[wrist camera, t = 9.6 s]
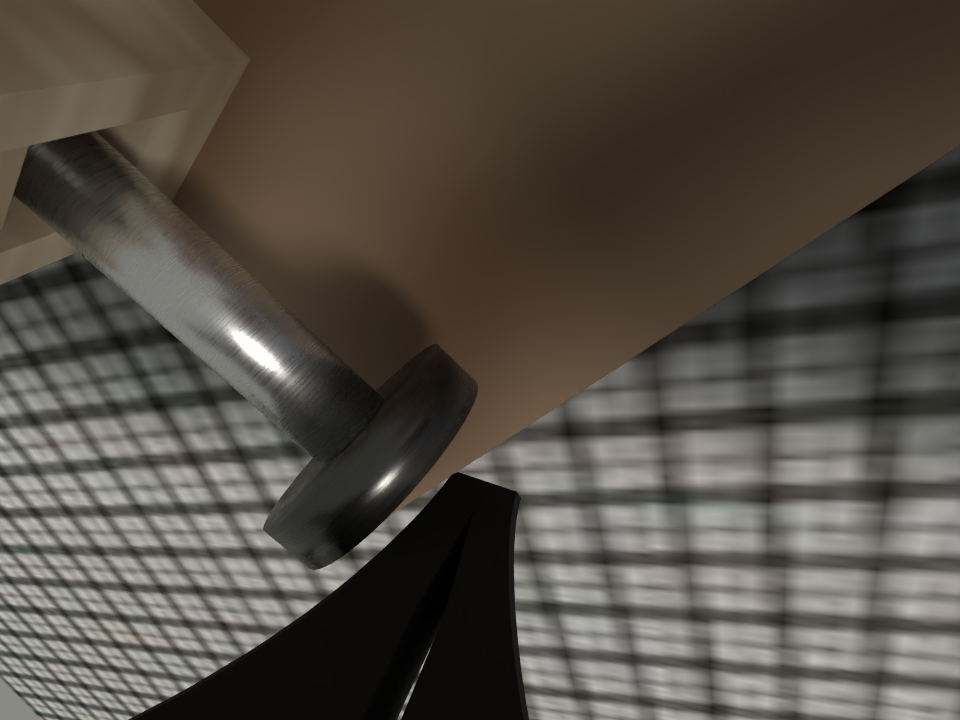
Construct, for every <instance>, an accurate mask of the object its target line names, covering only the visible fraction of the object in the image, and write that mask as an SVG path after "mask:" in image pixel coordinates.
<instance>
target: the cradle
mask: <svg viewBox="0 0 960 720" xmlns="http://www.w3.org/2000/svg"><path fill="white" fill-rule="evenodd" d="M92 131H96V132H97V133H98V134H99V135H101V136H102V137H103V138H104V139H105V140H106V141H107V142H108V143H109V144H110V145H111V146H112V147H113V148H115V149H116V150H117V151H118V152H119V153H120V154H121V155H122V156H123V157H124V158H125V159H126V160H127V161H129V162H130V163H131V164H132V165H133V166H134V167H135V168H136V169H137V170H138V171H139V172H140V173H141V174H143V175H144V176H145V177H146V178H147V179H148V180H149V181H150V182H151V183H152V184H153V185H154V186H155V187H157V188H158V189H159V190H160V191H161V192H162V193H163V194H164V195H165V196H166V197H167V198H168V199H169V200H171V201H172V202H173V203H174V204H175V205H176V206H177V207H178V208H179V209H180V210H181V211H182V212H183V213H185V214H186V215H187V216H188V217H189V218H190V219H191V220H192V221H193V222H194V223H195V224H196V225H197V226H199V227H200V228H201V229H202V230H203V231H204V232H205V233H206V234H207V235H208V236H209V237H210V238H211V239H213V240H214V241H215V242H216V243H217V244H218V245H219V246H220V247H221V248H222V249H223V250H224V251H225V252H227V253H228V254H229V255H230V256H231V257H232V258H233V259H234V260H235V261H236V262H237V263H238V264H239V265H241V266H242V267H243V268H244V269H245V270H246V271H247V272H248V273H249V274H250V275H251V276H252V277H253V278H255V279H256V280H257V281H258V282H259V283H260V284H261V285H262V286H263V287H264V288H265V289H266V290H267V291H269V292H270V293H271V294H272V295H273V296H274V297H275V298H276V299H277V300H278V301H279V302H280V303H281V304H283V305H284V306H285V307H286V308H287V309H288V310H289V311H290V312H291V313H292V314H293V315H294V316H295V317H297V318H298V319H299V320H300V321H301V322H302V323H303V324H304V325H305V326H306V327H307V328H308V329H309V330H311V331H312V332H313V333H314V334H315V335H316V336H317V337H318V338H319V339H320V340H321V341H322V342H323V343H325V344H326V345H327V346H328V347H329V348H330V349H331V350H332V351H333V352H334V353H335V354H336V355H337V356H339V357H340V358H341V359H342V360H343V361H344V362H345V363H346V364H347V365H348V366H349V367H350V368H351V369H353V370H354V371H355V372H356V373H357V374H358V375H359V376H360V377H361V378H362V379H363V380H364V381H365V382H367V383H368V384H369V385H370V386H371V387H372V388H373V389H374V390H375V391H377V390H378V389H379V388H380V387H381V386H382V385H383V384H384V383H385V382H386V381H387V380H388V379H389V378H390V377H391V376H392V375H394V374H395V373H396V372H397V371H398V370H399V369H400V368H401V367H403V366H404V365H405V364H406V363H407V362H408V361H410V360H411V359H412V358H413V357H415V356H416V355H417V354H419V353H420V352H421V351H423V350H424V349H426V348H427V347H429V346H431V345H433V344H438V345H439V346H440V347H441V348H442V349H443V350H444V351H445V352H446V353H447V354H449V355H450V356H451V357H452V358H453V359H454V360H455V361H456V362H457V363H458V364H459V365H460V366H461V367H462V368H463V369H464V370H465V371H466V372H467V373H468V374H469V375H470V376H471V377H472V378H473V379H474V380H475V381H476V382H477V383H478V393H477V397H476V400H475V402H474V405H473V407H472V409H471V411H470V413H469V415H468V417H467V418H466V420H465V422H464V424H463V425H462V427H461V428H460V430H459V431H458V433H457V435H456V436H455V437H454V439H453V440H452V442H451V443H450V445H449V446H448V448H447V449H446V450H445V452H444V453H443V454H442V456H441V457H440V458H439V459H438V461H437V462H436V463H435V465H434V466H433V467H432V468H431V470H430V471H429V472H428V473H427V474H426V476H425V477H424V478H423V479H422V480H421V482H420V483H419V484H418V485H417V486H416V487H415V489H414V490H413V491H412V492H411V493H410V494H409V495H408V496H407V497H406V498H405V500H404V501H403V502H402V503H401V504H400V505H399V506H398V507H397V508H396V509H395V510H394V511H393V512H392V513H391V514H393V513H394V512H396V511H397V510H399V509H400V508H402V507H404V506H405V505H407V504H408V503H410V502H411V501H413V500H414V499H416V498H417V497H419V496H421V495H422V494H424V493H425V492H427V491H428V490H430V489H431V488H433V487H434V486H436V485H437V484H439V483H441V482H442V481H444V480H445V479H447V478H448V477H450V476H451V474H454V473H456V472H457V471H459V470H461V469H462V468H464V467H465V466H467V465H468V464H470V463H471V462H473V461H474V460H476V459H477V458H479V457H481V456H482V455H484V454H485V453H487V452H488V451H490V450H491V449H493V448H494V447H496V446H497V445H499V444H501V443H502V442H504V441H505V440H507V439H508V438H510V437H511V436H513V435H514V434H516V433H518V432H519V431H521V430H522V429H524V428H525V427H527V426H528V425H530V424H531V423H533V422H534V421H536V420H538V419H539V418H541V417H542V416H544V415H545V414H547V413H548V412H550V411H551V410H553V409H554V408H556V407H558V406H559V405H561V404H562V403H564V402H565V401H567V400H568V399H570V398H571V397H573V396H574V395H576V394H578V393H579V392H581V391H582V390H584V389H585V388H587V387H588V386H590V385H591V384H593V383H595V382H596V381H598V380H599V379H601V378H602V377H604V376H605V375H607V374H608V373H610V372H611V371H613V370H615V369H616V368H618V367H619V366H621V365H622V364H624V363H625V362H627V361H628V360H630V359H631V358H633V357H635V356H636V355H638V354H639V353H641V352H642V351H644V350H645V349H647V348H648V347H650V346H651V345H653V344H655V343H656V342H658V341H659V340H661V339H662V338H664V337H665V336H667V335H668V334H670V333H671V332H673V331H675V330H676V329H678V328H679V327H681V326H682V325H684V324H685V323H687V322H688V321H690V320H692V319H693V318H695V317H696V316H698V315H699V314H701V313H702V312H704V311H705V310H707V309H708V308H710V307H712V306H713V305H715V304H716V303H718V302H719V301H721V300H722V299H724V298H725V297H727V296H728V295H730V294H732V293H733V292H735V291H736V290H738V289H739V288H741V287H742V286H744V285H745V284H747V283H748V282H750V281H752V280H753V279H755V278H756V277H758V276H759V275H761V274H762V273H764V272H765V271H767V270H769V269H770V268H772V267H773V266H775V265H776V264H778V263H779V262H781V261H782V260H784V259H785V258H787V257H789V256H790V255H792V254H793V253H795V252H796V251H798V250H799V249H801V248H802V247H804V246H805V245H807V244H809V243H810V242H812V241H813V240H815V239H816V238H818V237H819V236H821V235H822V234H824V233H825V232H827V231H829V230H830V229H832V228H833V227H835V226H836V225H838V224H839V223H841V222H842V221H844V220H846V219H847V218H849V217H850V216H852V215H853V214H855V213H856V212H858V211H859V210H861V209H862V208H864V207H866V206H867V205H869V204H870V203H872V202H873V201H875V200H876V199H878V198H879V197H881V196H882V195H884V194H886V193H887V192H889V191H890V190H892V189H893V188H895V187H896V186H898V185H899V184H901V183H902V182H904V181H906V180H907V179H909V178H910V177H912V176H913V175H915V174H916V173H918V172H919V171H921V170H922V169H924V168H926V167H927V166H929V165H930V164H932V163H933V162H935V161H936V160H938V159H939V158H941V157H943V156H944V155H946V154H947V153H949V152H950V151H952V150H953V149H955V148H956V147H958V146H959V145H960V0H0V285H1V284H4V283H6V282H8V281H11V280H13V279H16V278H18V277H20V276H23V275H25V274H27V273H30V272H32V271H35V270H37V269H39V268H42V267H44V266H46V265H49V264H51V263H54V262H56V261H58V260H61V259H63V258H65V257H68V256H70V255H73V254H75V253H77V252H78V251H77V250H76V249H74V248H73V247H72V246H71V245H70V244H69V243H68V242H66V241H65V240H64V239H63V238H62V237H61V236H60V235H58V234H57V233H56V232H55V231H54V230H53V229H52V228H50V227H49V226H48V225H47V224H46V223H45V222H44V221H42V220H41V219H40V218H39V217H38V216H37V215H36V214H34V213H33V212H32V211H31V210H30V209H29V208H28V207H26V206H25V205H24V204H23V203H22V202H21V201H20V200H18V199H17V198H16V197H15V196H14V195H13V193H14V190H15V187H16V184H17V181H18V178H19V175H20V172H21V168H22V165H23V162H24V159H25V156H26V153H27V150H28V147H29V146H30V145H34V144H39V143H43V142H48V141H52V140H57V139H61V138H65V137H70V136H74V135H79V134H83V133H88V132H92ZM391 514H390V515H391ZM390 515H389V516H390Z"/></svg>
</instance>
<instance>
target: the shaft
mask: <svg viewBox="0 0 960 720" xmlns="http://www.w3.org/2000/svg"><path fill="white" fill-rule="evenodd" d="M13 195H14V196H15V197H16V198H17V199H18V200H20V201H21V202H22V203H23V204H24V205H25V206H26V207H28V208H29V209H30V210H31V211H32V212H33V213H34V214H36V215H37V216H38V217H39V218H40V219H41V220H42V221H44V222H45V223H46V224H47V225H48V226H49V227H50V228H52V229H53V230H54V231H55V232H56V233H57V234H58V235H60V236H61V237H62V238H63V239H64V240H65V241H66V242H68V243H69V244H70V245H71V246H72V247H73V248H74V249H76V250H77V251H78V252H79V253H80V254H81V255H82V256H84V257H85V258H86V259H87V260H88V261H89V262H90V263H92V264H93V265H94V266H95V267H96V268H97V269H98V270H100V271H101V272H102V273H103V274H104V275H105V276H106V277H108V278H109V279H110V280H111V281H112V282H113V283H114V284H116V285H117V286H118V287H119V288H120V289H121V290H122V291H124V292H125V293H126V294H127V295H128V296H129V297H130V298H132V299H133V300H134V301H135V302H136V303H137V304H138V305H140V306H141V307H142V308H143V309H144V310H145V311H146V312H148V313H149V314H150V315H151V316H152V317H153V318H154V319H156V320H157V321H158V322H159V323H160V324H161V325H162V326H164V327H165V328H166V329H167V330H168V331H169V332H170V333H172V334H173V335H174V336H175V337H176V338H177V339H178V340H180V341H181V342H182V343H183V344H184V345H185V346H186V347H188V348H189V349H190V350H191V351H192V352H193V353H194V354H196V355H197V356H198V357H199V358H200V359H201V360H202V361H204V362H205V363H206V364H207V365H208V366H209V367H210V368H211V369H213V370H214V371H215V372H216V373H217V374H218V375H219V376H221V377H222V378H223V379H224V380H225V381H226V382H227V383H229V384H230V385H231V386H232V387H233V388H234V389H235V390H237V391H238V392H239V393H240V394H241V395H242V396H243V397H245V398H246V399H247V400H248V401H249V402H250V403H251V404H253V405H254V406H255V407H256V408H257V409H258V410H259V411H261V412H262V413H263V414H264V415H265V416H266V417H267V418H269V419H270V420H271V421H272V422H273V423H274V424H275V425H277V426H278V427H279V428H280V429H281V430H282V431H283V432H285V433H286V434H287V435H288V436H289V437H290V438H291V439H293V440H294V441H295V442H296V443H297V444H298V445H299V446H301V447H302V448H303V449H304V450H305V451H306V452H307V453H309V454H310V455H311V456H312V457H313V458H312V460H311V461H310V462H309V463H308V464H307V465H306V467H305V468H304V469H303V470H302V471H301V473H300V474H299V475H298V476H297V477H296V479H295V480H294V481H293V482H292V484H291V485H290V486H289V488H288V489H287V490H286V491H285V493H284V494H283V495H282V497H281V498H280V500H279V501H278V502H277V504H276V505H275V507H274V508H273V510H272V511H271V513H270V514H269V516H268V518H267V520H266V522H265V524H264V527H263V530H264V531H265V532H266V533H267V534H268V535H270V536H271V537H272V538H273V539H275V540H276V541H277V542H278V543H279V544H281V545H282V546H283V547H284V548H285V549H287V550H288V551H289V552H290V553H291V554H293V555H294V556H295V557H296V558H298V559H299V560H300V561H301V562H302V563H304V564H305V565H306V566H307V567H308V568H310V569H313V570H316V569H320V568H323V567H325V566H327V565H329V564H331V563H333V562H335V561H336V560H338V559H339V558H341V557H342V556H343V555H345V554H346V553H348V552H349V551H350V550H351V549H353V548H354V547H355V546H356V545H358V544H359V543H360V542H361V541H362V540H364V539H365V538H366V537H367V536H368V535H369V534H370V533H372V532H373V531H374V530H375V529H376V528H377V527H378V526H379V525H380V524H381V523H382V522H383V521H384V520H385V519H386V518H387V517H388V516H389V515H390V514H391V513H392V512H393V511H394V510H395V509H396V508H397V507H398V506H399V505H400V504H401V503H402V502H403V501H404V500H405V498H406V497H407V496H408V495H409V494H410V493H411V492H412V491H413V490H414V489H415V487H416V486H417V485H418V484H419V483H420V482H421V480H422V479H423V478H424V477H425V476H426V474H427V473H428V472H429V471H430V470H431V468H432V467H433V466H434V465H435V463H436V462H437V461H438V459H439V458H440V457H441V456H442V454H443V453H444V452H445V450H446V449H447V448H448V446H449V445H450V443H451V442H452V440H453V439H454V437H455V436H456V435H457V433H458V431H459V430H460V428H461V427H462V425H463V424H464V422H465V420H466V418H467V417H468V415H469V413H470V411H471V409H472V407H473V405H474V402H475V400H476V397H477V393H478V383H477V382H476V381H475V380H474V379H473V378H472V377H471V376H470V375H469V374H468V373H467V372H466V371H465V370H464V369H463V368H462V367H461V366H460V365H459V364H458V363H457V362H456V361H455V360H454V359H453V358H452V357H451V356H450V355H449V354H447V353H446V352H445V351H444V350H443V349H442V348H441V347H440V346H439V345H438V344H433V345H431V346H429V347H427V348H426V349H424V350H423V351H421V352H420V353H419V354H417V355H416V356H415V357H413V358H412V359H411V360H410V361H408V362H407V363H406V364H405V365H404V366H403V367H401V368H400V369H399V370H398V371H397V372H396V373H395V374H394V375H392V376H391V377H390V378H389V379H388V380H387V381H386V382H385V383H384V384H383V385H382V386H381V387H380V388H379V389H378V390H377V391H375V390H374V389H373V388H372V387H371V386H370V385H369V384H368V383H367V382H365V381H364V380H363V379H362V378H361V377H360V376H359V375H358V374H357V373H356V372H355V371H354V370H353V369H351V368H350V367H349V366H348V365H347V364H346V363H345V362H344V361H343V360H342V359H341V358H340V357H339V356H337V355H336V354H335V353H334V352H333V351H332V350H331V349H330V348H329V347H328V346H327V345H326V344H325V343H323V342H322V341H321V340H320V339H319V338H318V337H317V336H316V335H315V334H314V333H313V332H312V331H311V330H309V329H308V328H307V327H306V326H305V325H304V324H303V323H302V322H301V321H300V320H299V319H298V318H297V317H295V316H294V315H293V314H292V313H291V312H290V311H289V310H288V309H287V308H286V307H285V306H284V305H283V304H281V303H280V302H279V301H278V300H277V299H276V298H275V297H274V296H273V295H272V294H271V293H270V292H269V291H267V290H266V289H265V288H264V287H263V286H262V285H261V284H260V283H259V282H258V281H257V280H256V279H255V278H253V277H252V276H251V275H250V274H249V273H248V272H247V271H246V270H245V269H244V268H243V267H242V266H241V265H239V264H238V263H237V262H236V261H235V260H234V259H233V258H232V257H231V256H230V255H229V254H228V253H227V252H225V251H224V250H223V249H222V248H221V247H220V246H219V245H218V244H217V243H216V242H215V241H214V240H213V239H211V238H210V237H209V236H208V235H207V234H206V233H205V232H204V231H203V230H202V229H201V228H200V227H199V226H197V225H196V224H195V223H194V222H193V221H192V220H191V219H190V218H189V217H188V216H187V215H186V214H185V213H183V212H182V211H181V210H180V209H179V208H178V207H177V206H176V205H175V204H174V203H173V202H172V201H171V200H169V199H168V198H167V197H166V196H165V195H164V194H163V193H162V192H161V191H160V190H159V189H158V188H157V187H155V186H154V185H153V184H152V183H151V182H150V181H149V180H148V179H147V178H146V177H145V176H144V175H143V174H141V173H140V172H139V171H138V170H137V169H136V168H135V167H134V166H133V165H132V164H131V163H130V162H129V161H127V160H126V159H125V158H124V157H123V156H122V155H121V154H120V153H119V152H118V151H117V150H116V149H115V148H113V147H112V146H111V145H110V144H109V143H108V142H107V141H106V140H105V139H104V138H103V137H102V136H101V135H99V134H98V133H97V132H96V131H92V132H88V133H83V134H79V135H74V136H70V137H65V138H61V139H57V140H52V141H48V142H43V143H39V144H34V145H30V146H29V147H28V150H27V153H26V156H25V159H24V162H23V165H22V168H21V172H20V175H19V178H18V181H17V184H16V187H15V190H14V193H13Z"/></svg>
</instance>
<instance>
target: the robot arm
mask: <svg viewBox="0 0 960 720" xmlns="http://www.w3.org/2000/svg"><path fill="white" fill-rule="evenodd" d="M520 500H521V497H520V496H519V494H518V493H517V492H516V491H513V490H510V489H507V488H504V487H501V486H498V485H495V484H492V483H489V482H486V481H483V480H480V479H477V478H474V477H471V476H468V475H465V474H462V473H459V472H457V473H454V474H451V476H450V477H449V479H448V480H447V481H446V483H445V484H444V485H443V487H442V488H441V489H440V490H439V491H438V493H437V494H436V495H435V496H434V497H433V499H432V500H431V501H430V502H429V503H428V504H427V505H426V506H425V508H424V509H423V510H422V511H421V512H420V513H419V514H418V515H417V516H416V517H415V518H414V519H413V520H412V521H411V522H410V523H409V524H408V525H407V526H406V527H405V528H404V529H403V530H402V531H401V532H400V533H399V534H398V535H397V536H396V537H395V538H394V539H393V540H392V541H391V542H390V543H389V544H388V545H387V546H386V547H385V548H384V549H383V550H382V551H381V552H379V553H378V554H377V555H376V556H375V557H374V558H373V559H372V560H370V561H369V562H368V563H367V564H366V565H365V566H364V567H362V568H361V569H360V570H359V571H358V572H357V573H356V574H354V575H353V576H352V577H351V578H350V579H349V580H347V581H346V582H345V583H344V584H342V585H341V586H340V587H339V588H338V589H336V590H335V591H334V592H333V593H331V594H330V595H329V596H327V597H326V598H325V599H324V600H322V601H321V602H320V603H318V604H317V605H316V606H314V607H313V608H312V609H310V610H309V611H308V612H306V613H305V614H304V615H302V616H301V617H299V618H298V619H296V620H295V621H294V622H292V623H291V624H289V625H288V626H286V627H285V628H283V629H282V630H281V631H279V632H278V633H276V634H275V635H273V636H272V637H271V638H269V639H268V640H266V641H265V642H263V643H261V644H260V645H258V646H257V647H255V648H254V649H252V650H251V651H249V652H248V653H246V654H244V655H243V656H241V657H239V658H238V659H236V660H234V661H233V662H231V663H229V664H228V665H226V666H224V667H223V668H221V669H219V670H218V671H216V672H214V673H213V674H211V675H209V676H208V677H206V678H204V679H203V680H201V681H199V682H198V683H196V684H194V685H193V686H191V687H189V688H187V689H185V690H184V691H182V692H180V693H178V694H177V695H175V696H173V697H171V698H169V699H167V700H165V701H163V702H161V703H159V704H157V705H156V706H154V707H152V708H150V709H148V710H146V711H144V712H142V713H140V714H138V715H136V716H135V717H133V718H131V719H129V720H397V718H398V716H399V714H400V711H401V709H402V707H403V704H404V702H405V700H406V698H407V696H408V694H409V691H410V689H411V687H412V685H413V683H414V681H415V679H416V677H417V674H418V672H419V670H420V668H421V666H422V664H423V662H424V660H425V657H426V655H427V653H428V651H429V649H430V647H431V649H430V651H429V654H428V656H427V658H426V661H425V663H424V666H423V668H422V671H421V673H420V676H419V678H418V680H417V683H416V685H415V687H414V690H413V692H412V695H411V697H410V699H409V702H408V704H407V707H406V709H405V711H404V714H403V716H402V719H401V720H529V717H528V711H527V706H526V699H525V693H524V686H523V679H522V672H521V664H520V656H519V647H518V637H517V625H516V613H515V593H514V542H515V528H516V519H517V513H518V507H519V503H520ZM434 638H435V639H434ZM433 640H434V641H433ZM432 643H433V644H432ZM431 645H432V646H431Z"/></svg>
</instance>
